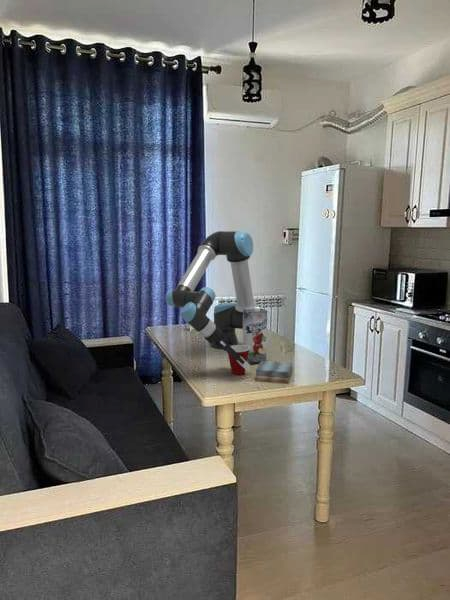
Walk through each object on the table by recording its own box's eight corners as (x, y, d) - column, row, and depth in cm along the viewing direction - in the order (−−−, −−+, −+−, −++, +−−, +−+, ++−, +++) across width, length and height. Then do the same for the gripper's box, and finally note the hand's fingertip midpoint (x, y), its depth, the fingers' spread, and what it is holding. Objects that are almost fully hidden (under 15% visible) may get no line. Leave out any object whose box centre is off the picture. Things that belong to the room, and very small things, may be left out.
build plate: (254, 380, 195) (254, 371, 194) (262, 367, 214) (262, 358, 213) (288, 383, 191) (288, 374, 191) (292, 369, 211) (292, 361, 210)
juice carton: (240, 360, 225) (241, 305, 220) (259, 358, 229) (260, 304, 225) (248, 365, 217) (249, 308, 212) (268, 362, 221) (269, 307, 216)
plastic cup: (224, 370, 209) (224, 344, 207) (248, 369, 210) (248, 344, 208) (226, 377, 199) (226, 350, 197) (251, 377, 199) (252, 350, 198)
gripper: (197, 331, 209) (228, 361, 216) (211, 345, 185) (246, 377, 192) (208, 319, 210) (239, 349, 216) (224, 331, 186) (258, 364, 193)
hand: (242, 362), depth 204 cm, fingers open, 13 cm apart
